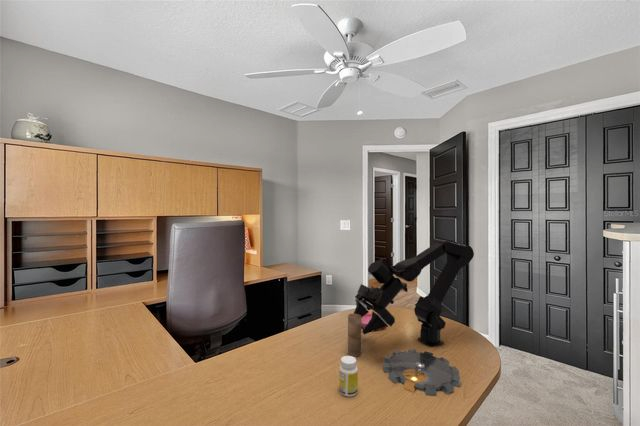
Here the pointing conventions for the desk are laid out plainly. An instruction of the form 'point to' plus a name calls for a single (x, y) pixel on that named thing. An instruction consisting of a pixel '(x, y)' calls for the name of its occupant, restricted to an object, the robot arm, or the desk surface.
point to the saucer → (366, 320)
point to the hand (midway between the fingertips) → (356, 327)
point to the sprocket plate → (421, 371)
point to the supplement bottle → (348, 376)
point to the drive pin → (354, 335)
